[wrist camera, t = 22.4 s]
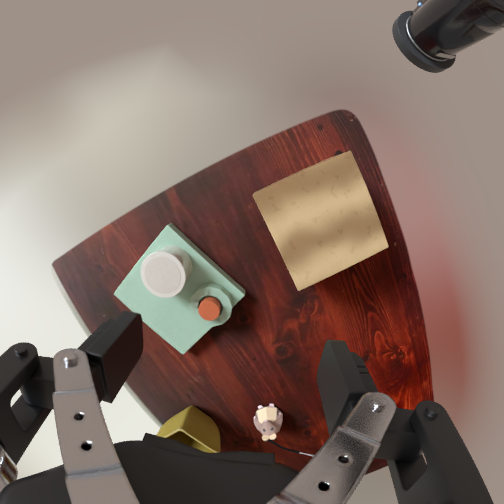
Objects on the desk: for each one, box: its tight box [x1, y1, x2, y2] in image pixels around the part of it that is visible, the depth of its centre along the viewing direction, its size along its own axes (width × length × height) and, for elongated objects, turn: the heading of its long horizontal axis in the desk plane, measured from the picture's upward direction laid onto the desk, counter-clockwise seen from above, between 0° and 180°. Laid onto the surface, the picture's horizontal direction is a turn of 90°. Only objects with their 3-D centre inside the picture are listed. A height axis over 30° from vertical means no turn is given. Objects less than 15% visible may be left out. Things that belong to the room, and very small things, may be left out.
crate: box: [253, 151, 389, 291], centre depth 33 cm, size 11×11×10 cm
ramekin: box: [141, 245, 193, 298], centre depth 36 cm, size 6×6×4 cm
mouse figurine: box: [254, 404, 283, 441], centre depth 43 cm, size 5×8×7 cm, turn 13°
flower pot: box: [156, 405, 220, 453], centre depth 43 cm, size 9×9×9 cm
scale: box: [114, 223, 245, 354], centre depth 39 cm, size 14×14×4 cm
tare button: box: [198, 297, 221, 321], centre depth 37 cm, size 3×3×2 cm
